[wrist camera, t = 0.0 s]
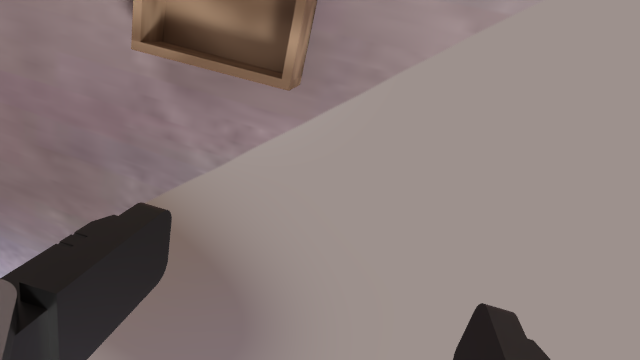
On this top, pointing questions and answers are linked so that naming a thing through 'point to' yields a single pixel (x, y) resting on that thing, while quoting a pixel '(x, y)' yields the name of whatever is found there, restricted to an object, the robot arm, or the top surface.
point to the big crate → (229, 36)
